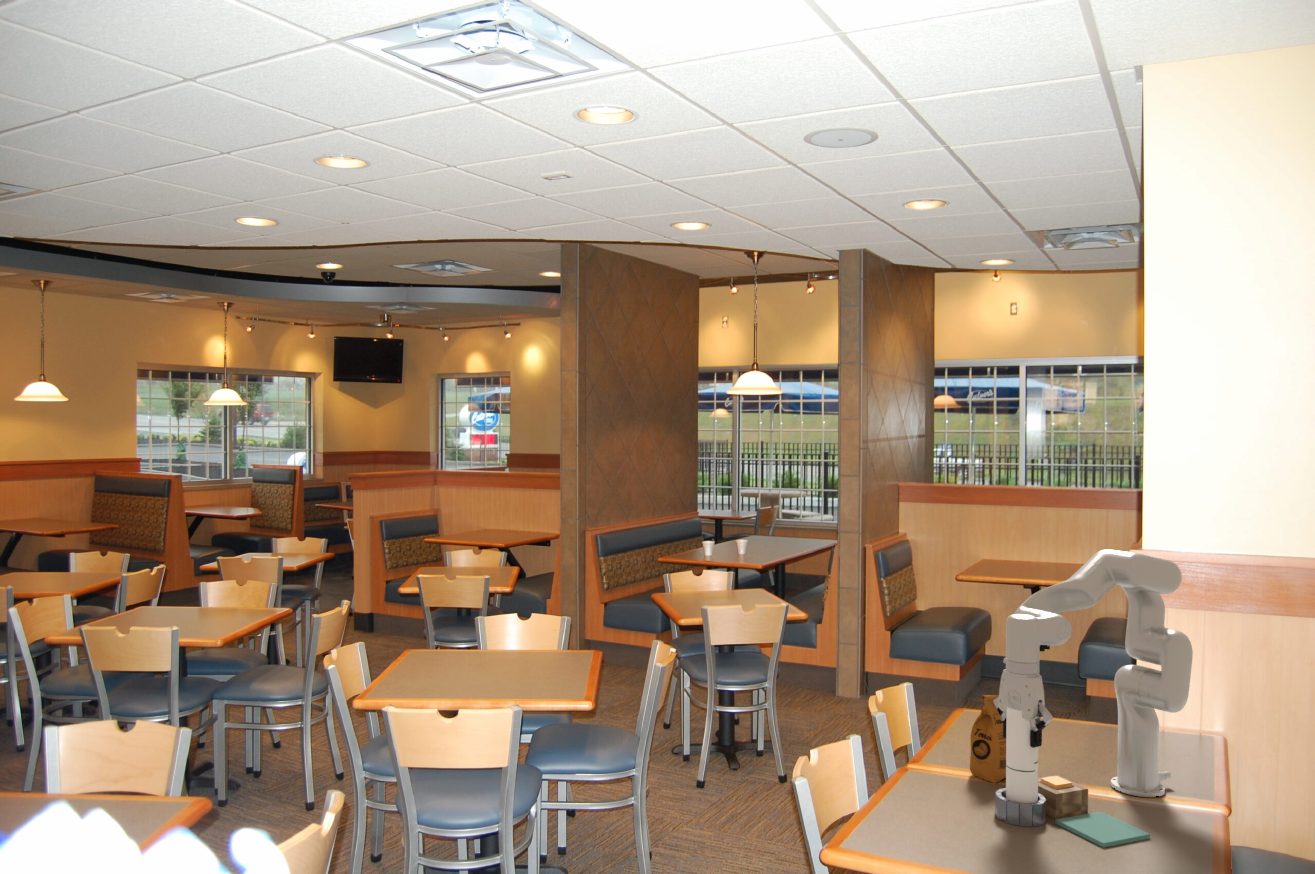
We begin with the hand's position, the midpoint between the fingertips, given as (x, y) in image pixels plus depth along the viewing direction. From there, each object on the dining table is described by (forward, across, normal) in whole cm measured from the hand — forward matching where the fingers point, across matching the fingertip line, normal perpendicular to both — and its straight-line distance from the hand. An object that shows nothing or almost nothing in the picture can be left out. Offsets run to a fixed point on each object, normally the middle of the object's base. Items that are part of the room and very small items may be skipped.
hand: (1022, 741), depth 232 cm
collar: (+18, 0, 0) cm, 18 cm away
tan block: (+17, +1, +12) cm, 20 cm away
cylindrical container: (+17, 0, 0) cm, 17 cm away
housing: (+18, +1, +12) cm, 22 cm away
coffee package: (+18, -23, +17) cm, 34 cm away
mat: (+18, +14, +10) cm, 25 cm away
